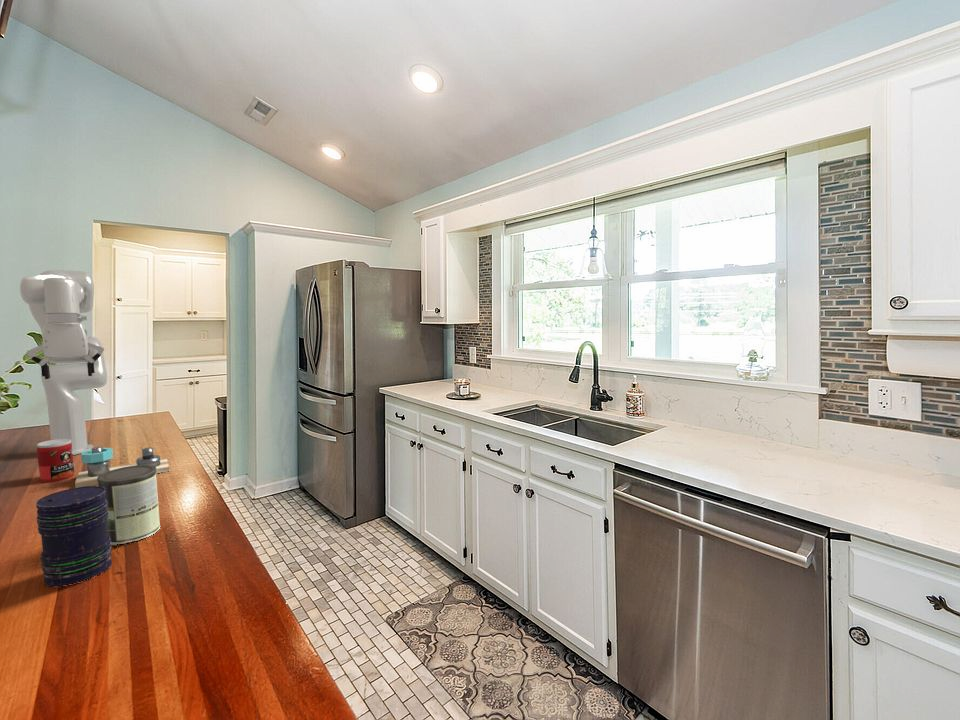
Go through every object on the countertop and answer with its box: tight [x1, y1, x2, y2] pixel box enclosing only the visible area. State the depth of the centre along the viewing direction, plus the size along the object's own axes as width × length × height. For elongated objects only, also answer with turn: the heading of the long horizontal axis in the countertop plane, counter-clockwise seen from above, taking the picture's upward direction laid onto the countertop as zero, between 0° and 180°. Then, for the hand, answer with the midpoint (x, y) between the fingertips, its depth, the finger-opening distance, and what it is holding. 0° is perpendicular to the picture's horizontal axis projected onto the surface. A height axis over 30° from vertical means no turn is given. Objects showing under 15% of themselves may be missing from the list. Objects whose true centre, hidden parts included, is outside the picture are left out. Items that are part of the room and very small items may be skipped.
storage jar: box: [35, 485, 113, 587], centre depth 86 cm, size 10×10×15 cm
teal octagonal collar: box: [80, 447, 114, 464], centre depth 136 cm, size 7×7×2 cm
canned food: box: [36, 439, 75, 483], centre depth 137 cm, size 8×8×11 cm
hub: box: [135, 447, 161, 467], centre depth 143 cm, size 6×6×6 cm
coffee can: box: [97, 465, 161, 546], centre depth 101 cm, size 10×10×14 cm
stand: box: [86, 446, 111, 477], centre depth 136 cm, size 5×5×8 cm
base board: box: [74, 458, 170, 488], centre depth 140 cm, size 11×22×2 cm, turn 127°
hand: (69, 377), depth 138 cm, fingers open, 9 cm apart
